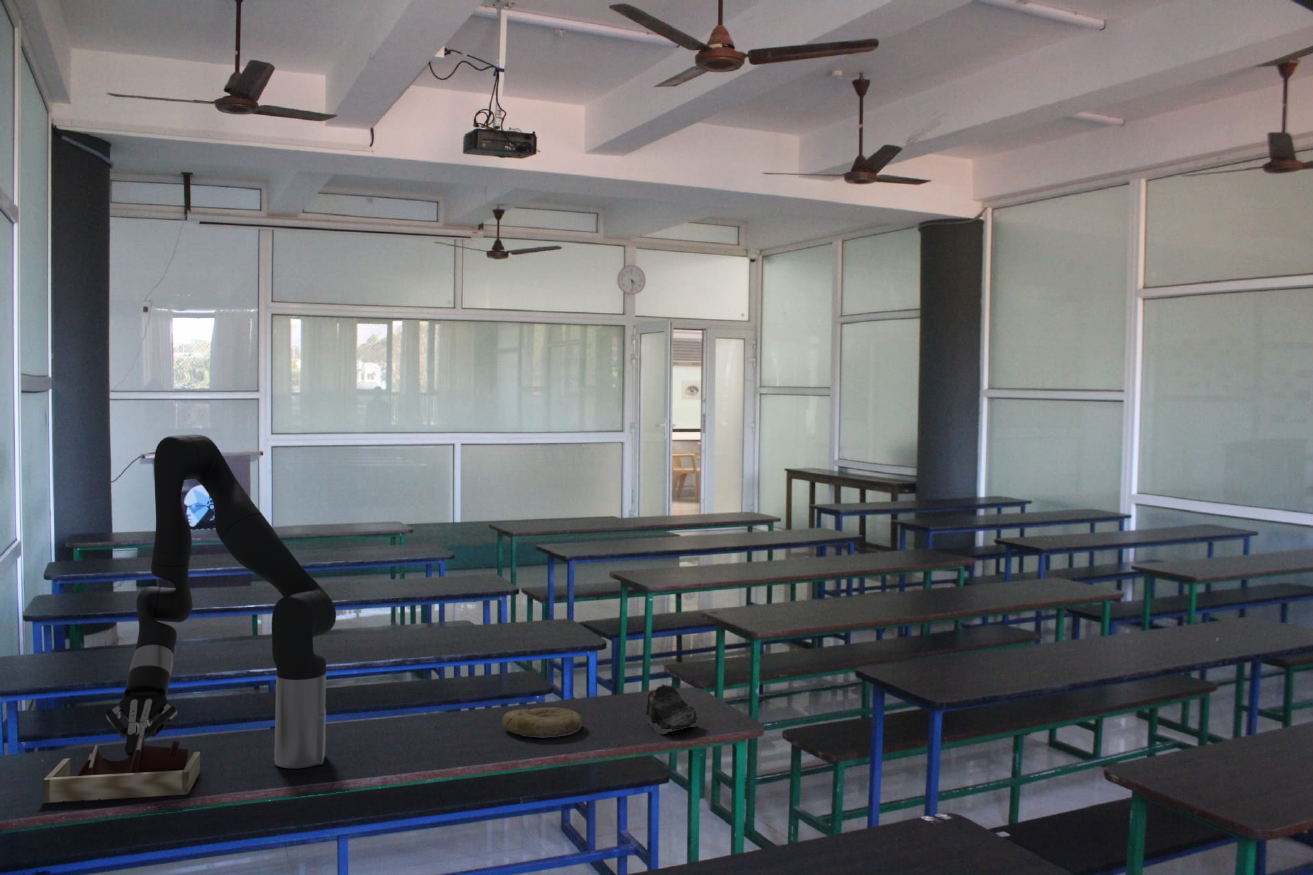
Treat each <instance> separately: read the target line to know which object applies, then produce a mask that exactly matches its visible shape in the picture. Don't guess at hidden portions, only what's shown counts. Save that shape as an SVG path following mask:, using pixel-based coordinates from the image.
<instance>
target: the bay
mask: <svg viewBox="0 0 1313 875" xmlns="http://www.w3.org/2000/svg"><path fill="white" fill-rule="evenodd" d="M200 762H201V751H193V753H192V755H191V757H190V758H189V760H188V761H187V763H186V767H185V768H184V770H181V771H163V772H144V773H126V774H107V775H89V776H78V775H75V776H74V775H73V776H71V758H70V757H69V758H63V759H62V760H61V761H60V762H59V763H58V764H57V765H56V767H55V768H53V769H52V771H50V772H49V774H47V776H46V777H45V778H43V782H42V784H43V785H42V786H43V787H42V788H43V789H42V790H43V791H42V803H43V804H47V803H48V804H49V803H63V801H64V803H65V801H66V802H81V800H82V801H83V800H84V801H99V799H100V801H101V800H115V799H117V800H118V799H128V798H129V799H131V798H132V799H133V798H134V799H135V798H146V797H147V798H149V797H151V798H152V797H165V796H179V795H181V796H183V795H184V796H185V795H189V793H190V792H191V789H192V787H193V785H194V784H195V782H196V780H197V779H198V776H199V775H200V773H201V772H200V769H201V767H200V766H201V765H200Z"/></svg>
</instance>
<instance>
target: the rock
mask: <svg viewBox="0 0 1313 875" xmlns="http://www.w3.org/2000/svg"><path fill="white" fill-rule="evenodd" d="M646 714H647V715H649V719H650V721H651V722H652V723H657V724H658V725H659V726H660V727H661V729H672V730H674V729H681V728H684V727H688V728H690V727H689V726H691V725H693V724H694V723H696V720H697V719H698V716H697V711H696V709H695V707H694V706H692V705H690V704H687V702H686V701H685V699H684V698H683V697H682V696H681V694H680V693H679V692H678V691H677V689H676V688H675V687H674V686H672V685H667V684H663V683H662V684H661V685H660V686H657V687H656V689H652V690H651V691H649V692H647V703H646V711H645V715H646ZM698 720H699V719H698ZM698 720H697V721H698Z"/></svg>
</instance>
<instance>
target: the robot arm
mask: <svg viewBox="0 0 1313 875" xmlns="http://www.w3.org/2000/svg"><path fill="white" fill-rule="evenodd" d="M153 458H154V460H153V469H154V470H153V471H154V472H153V474H154V475H153V477H154V478H153V480H154V504H155V534H154V543H153V550H152V557H151V558H152V559H151V564H150V565H151V566H150V573H151V575H153V576H154V577H156V578H158V579H161V580H165V581H168V582H170V583H172V584H173V586H174V587H165V586H161V587H160V586H146V587H145V588H143V589H142V590H141V591H140V592H139V594H137V598H136V602H135V604H136V605H135V606H136V607H135V608H136V612H137V618H138V619H137V621H138V635H137V636H138V637H137V642H136V646H135V650H134V653H133V657H132V659H131V662H130V667H129V670H128V675H127V678H126V684H125V688H124V693H123V697H122V698H121V699H120V701H119V703H118V705H117V706H115V707H114V708H107V709H106V710H105V711H104V713H105V717H106V718H107V721H108V722H109V723H110V725H111V726H112V728H113V729H114V730H115V732H117V734H118V736H119V737H120V738H121V739H126V743H125V745H124V746H125V747H124V750H125V755H126V756H127V758H129V757H130V756H131V755H132V754H133V753H134V751H135V749H136V745H137V741H138V737H139V734H140V730H141V728H142V727H144V728H145V733H144V738H145V740H144V744H143V745H145V743H146V739H147V738H149V737H152V738H154V737H157V735H159V734H160V733H161V732H162V731H163V730H164V729H165V728H166V727H167V726H168V725H169V724H171V723H172V722H173V721H174V720H175V719H176V718H177V717H178V711H177V708H176V706H175V705H173V706H171V705H170V704H169V702H168V699H167V697H168V691H169V685H170V682H171V677H172V675H173V674H172V673H173V667H174V666H173V665H174V652H175V649H176V644H177V637H178V636H177V635H178V634H177V631H176V629H175V628H174V627H173V626H171V625H169V624H167V623H168V622H169V623H182V622H185V621H186V620H187V619H188V618H189V617H190V616H191V614H192V611H193V597H192V592H191V587H190V581H189V580H190V579H189V567H190V560H191V551H192V546H193V539H192V538H193V537H192V532H191V528H190V525H189V522H188V519H187V517H186V515H185V512H184V509H183V505H182V493H183V492H182V490H183V487H184V484H185V481H189V480H196V482H198V483H199V484H200V485H201V486H202V487H203V488H204V490H205V491H206V493H207V494H208V495H209V497H210V499H211V501H212V504H213V510H214V511H213V512H214V513H213V514H214V515H213V518H214V526H215V532H216V535H217V536H218V538H219V539H220V540H219V541H221V543H222V544H223V545H224V547H225V548H226V549H227V551H228V552H229V554H230V555H231V556H232V557H233V558H234V560H236V561H237V563H239V564H240V565H241V566H243V567H244V568H245V569H247V570H248V571H250V572H251V573H253V574H255V575H256V576H259V577H260V578H261V579H263V580H265V582H266V581H267V582H268V583H269V584H271V586H273V588H275V589H276V590H277V591H278V592H279V594H280V595H281V596H282V597H281V598H279V600H278V601H277V602H276V603H275V605H274V607H273V610H272V615H271V650H272V651H271V652H272V653H271V654H272V660H273V663H274V665H275V669H276V676H275V678H276V679H275V680H276V681H275V684H276V685H275V686H276V687H275V715H274V716H275V717H274V718H275V720H274V726H275V727H274V753H273V755H274V765H275V766H277V767H280V768H284V769H304V768H309V767H314V766H317V765H323V764H324V761H325V758H326V757H325V756H326V730H327V729H326V727H327V725H326V724H327V708H326V696H327V695H326V694H327V693H326V692H327V690H326V689H327V688H326V687H327V661H326V658H325V657H323V656H322V655H319V654H315V651H314V638H315V637H316V638H317V637H319V636H322V635H324V634H326V633H328V632H329V631H331V630H332V629H333V627H334V626H335V623H336V621H337V610H336V607H335V605H334V602H333V600H332V598H331V597H330V595H329V594H328V593H327V592H326V591H325V589H324V588H323V587H321V585H320V584H319V583H318V582H317V581H316V580H315V579H314V578H313V577H312V576H311V575H310V574H309V572H307V571H306V569H305V568H304V567H303V566H302V565H301V564H300V563H299V561H298V560H297V558H296V557H295V556H294V555H293V554H292V552H291V551H290V550H289V549H288V547H287V545H286V544H284V542H283V541H282V540H281V538H280V537H279V535H278V533H277V532H276V531H275V528H273V526H272V525H271V524H270V522H269V521H268V520H267V519H266V517H265V516H264V515H263V514H262V512H261V510H259V508H258V507H257V506H256V504H255V503H254V502H253V501H252V500H251V498H250V497H249V495H248V494H247V492H246V491H245V489H244V488H243V487H242V485H241V484H240V482H239V481H238V479H237V478H236V476H235V474H234V472H233V470H231V467H230V466H229V464H228V462H227V461H226V459H225V457H224V456H223V454H222V452H221V451H220V449H219V448H218V446H217V445H216V444H215V442H214V441H213V440H212V439H211V438H210V437H208V436H206V435H203V434H178V435H177V434H176V435H169V436H165V437H163V438H162V439H161V440H160V441H159V442H158V443H157V446H156V449H155V452H154V457H153ZM121 713H122V714H123V716H124V717H125V719H126V720H127V721H128V727H125V725H124V724H123V723H122V721H121V720H120V719H121Z"/></svg>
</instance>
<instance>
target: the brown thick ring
mask: <svg viewBox="0 0 1313 875" xmlns="http://www.w3.org/2000/svg"><path fill="white" fill-rule="evenodd" d="M501 724H502V727H503V728H504V729H505V730H506V731H508V732H509V733H511V732H513V733H512V734H514V733H516V734H515V735H517V734H521V735H526V736H558V735H562V734H563V735H564V734H569V733H572V732H575V731H577V730H578V729H580V728H581V727H582V728H583V726H584V717H583V716H582V715H581V714H579V713H578V712H577V711H575V710H571V709H568V708H563V707H557V706H555V707H538V708H531V709H514V710H510V711H508V712H506V713H505V714H504V715H503V716H502V719H501ZM582 728H581V729H582ZM581 729H580V730H581ZM521 735H520V736H521Z"/></svg>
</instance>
